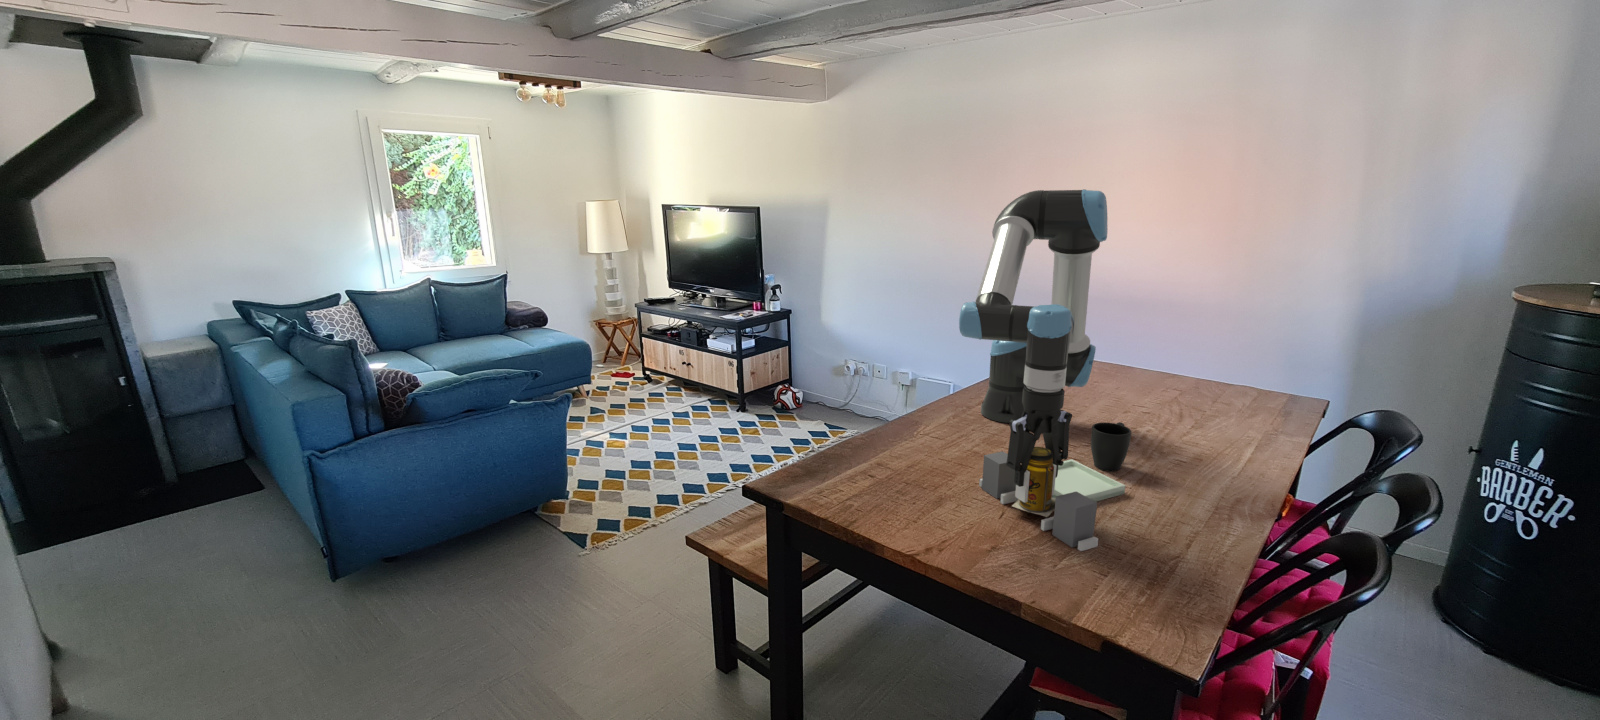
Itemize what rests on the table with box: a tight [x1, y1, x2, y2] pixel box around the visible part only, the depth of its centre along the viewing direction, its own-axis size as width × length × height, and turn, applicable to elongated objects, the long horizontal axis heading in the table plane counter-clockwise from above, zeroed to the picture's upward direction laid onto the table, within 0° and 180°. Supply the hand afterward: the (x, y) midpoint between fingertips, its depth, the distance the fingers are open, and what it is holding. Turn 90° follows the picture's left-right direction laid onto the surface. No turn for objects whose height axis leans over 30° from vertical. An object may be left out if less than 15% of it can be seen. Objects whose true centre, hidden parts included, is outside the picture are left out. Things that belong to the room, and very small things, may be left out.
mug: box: [1090, 421, 1132, 472], centre depth 154 cm, size 8×12×10 cm
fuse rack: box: [978, 450, 1099, 552], centre depth 132 cm, size 29×6×8 cm, turn 23°
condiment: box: [1011, 446, 1056, 518], centre depth 132 cm, size 7×8×12 cm
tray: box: [1052, 458, 1126, 502], centre depth 144 cm, size 15×15×2 cm
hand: (1034, 495), depth 132 cm, fingers closed on condiment, 6 cm apart
